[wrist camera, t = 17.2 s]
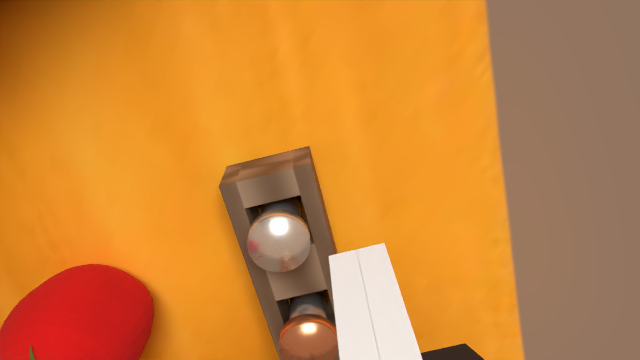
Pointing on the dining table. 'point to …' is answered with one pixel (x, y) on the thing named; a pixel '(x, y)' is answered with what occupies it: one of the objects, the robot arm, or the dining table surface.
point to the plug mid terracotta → (308, 330)
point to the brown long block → (301, 179)
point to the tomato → (80, 318)
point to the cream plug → (279, 236)
